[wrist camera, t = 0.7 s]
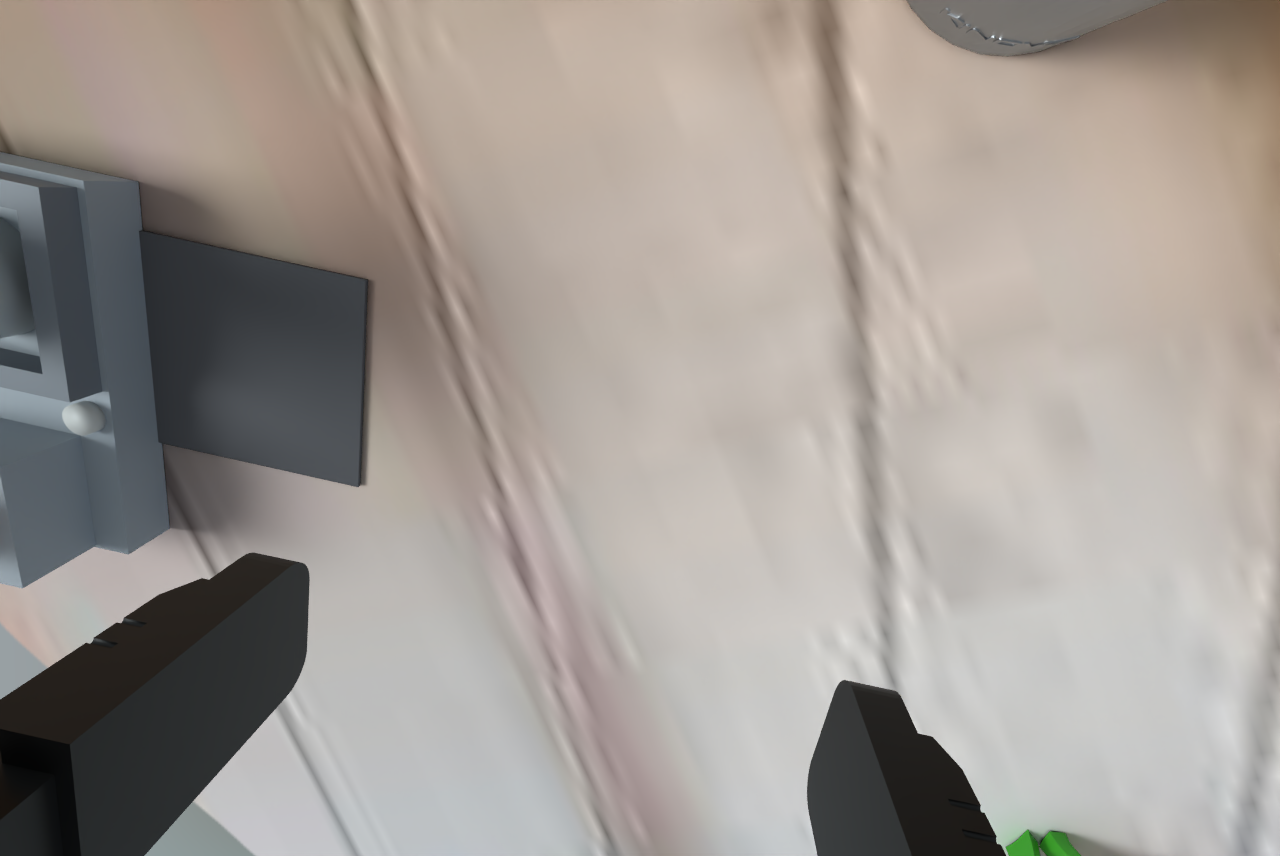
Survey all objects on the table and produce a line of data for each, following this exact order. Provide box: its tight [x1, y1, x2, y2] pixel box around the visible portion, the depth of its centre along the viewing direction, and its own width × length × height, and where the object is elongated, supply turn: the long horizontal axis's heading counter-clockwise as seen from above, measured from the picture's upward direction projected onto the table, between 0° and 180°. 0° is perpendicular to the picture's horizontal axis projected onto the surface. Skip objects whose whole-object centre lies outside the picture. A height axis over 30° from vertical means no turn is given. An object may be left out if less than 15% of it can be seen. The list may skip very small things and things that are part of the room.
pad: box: [139, 231, 368, 487], centre depth 29 cm, size 10×10×1 cm
